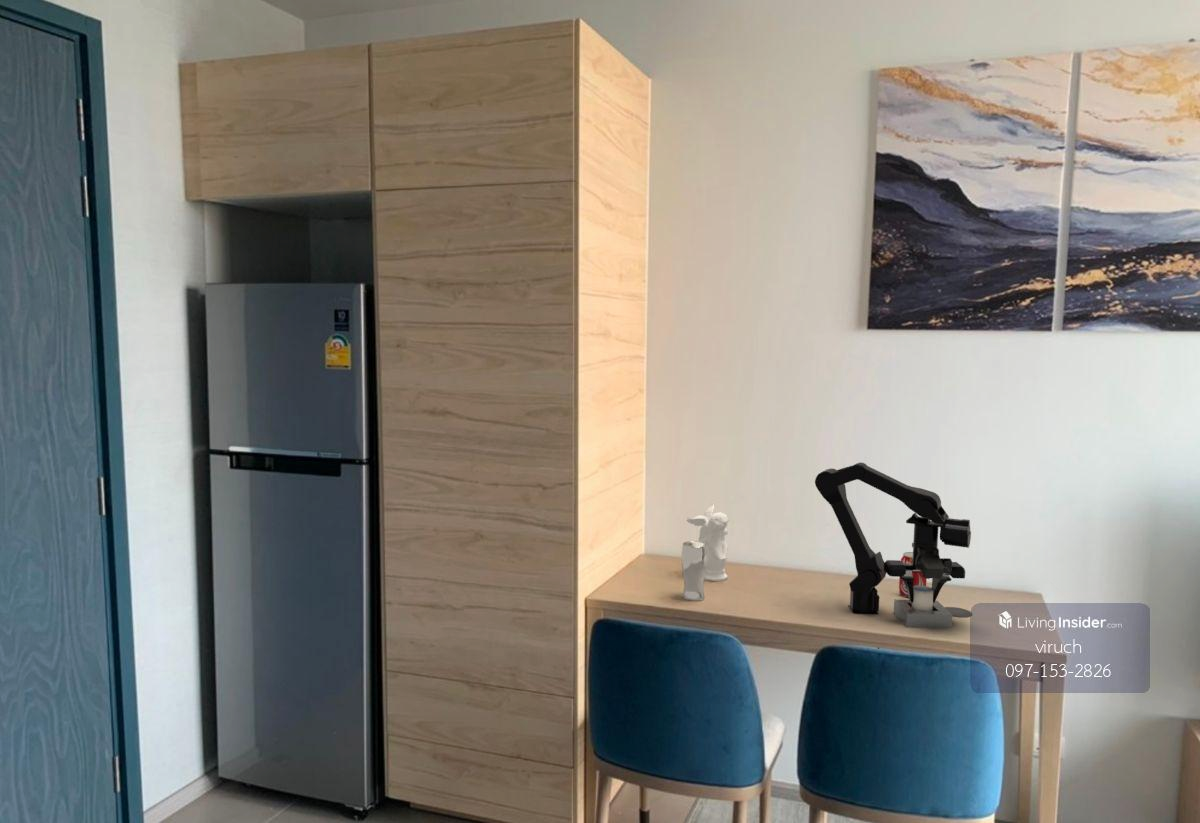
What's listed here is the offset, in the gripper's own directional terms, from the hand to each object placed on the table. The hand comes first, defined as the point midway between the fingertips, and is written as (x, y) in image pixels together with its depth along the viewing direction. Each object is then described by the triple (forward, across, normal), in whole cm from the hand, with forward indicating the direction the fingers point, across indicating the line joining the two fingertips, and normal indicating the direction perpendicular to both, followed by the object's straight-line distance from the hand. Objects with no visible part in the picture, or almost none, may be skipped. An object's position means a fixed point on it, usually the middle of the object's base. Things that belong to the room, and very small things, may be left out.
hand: (922, 602), depth 221 cm
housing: (+5, 0, 0) cm, 5 cm away
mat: (+5, +11, +7) cm, 14 cm away
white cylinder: (+4, 0, 0) cm, 4 cm away
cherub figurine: (+6, -52, +35) cm, 63 cm away
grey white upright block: (+6, -57, +15) cm, 59 cm away
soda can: (+5, +4, +21) cm, 22 cm away
